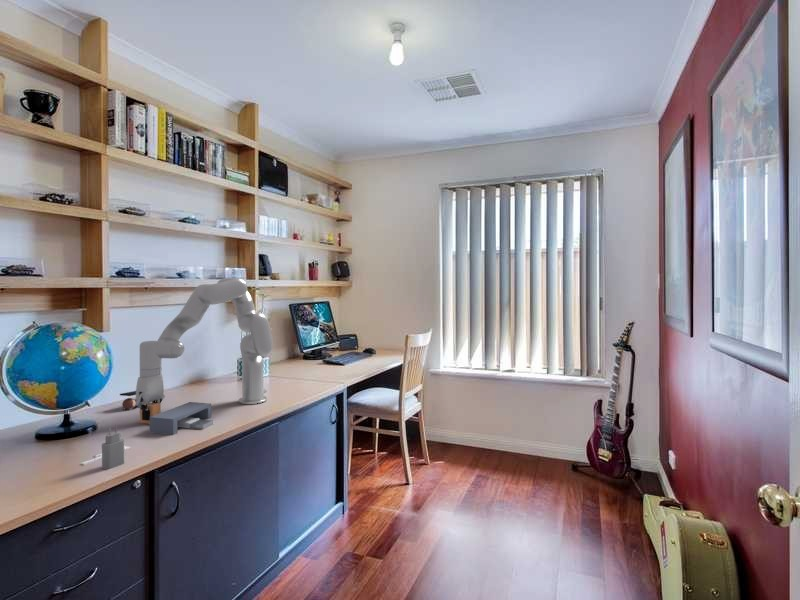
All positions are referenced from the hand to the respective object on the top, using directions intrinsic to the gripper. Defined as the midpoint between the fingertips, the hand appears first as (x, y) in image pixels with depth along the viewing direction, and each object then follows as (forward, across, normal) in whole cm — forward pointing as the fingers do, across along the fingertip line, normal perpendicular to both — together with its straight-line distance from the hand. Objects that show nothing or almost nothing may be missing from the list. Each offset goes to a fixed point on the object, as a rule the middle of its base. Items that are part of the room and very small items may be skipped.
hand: (150, 417), depth 177 cm
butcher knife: (+2, +33, +12) cm, 35 cm away
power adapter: (+2, +39, +22) cm, 44 cm away
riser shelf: (+2, 0, +14) cm, 14 cm away
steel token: (+2, 0, +23) cm, 23 cm away
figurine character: (+2, -18, -22) cm, 28 cm away
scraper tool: (+2, 0, +8) cm, 8 cm away
